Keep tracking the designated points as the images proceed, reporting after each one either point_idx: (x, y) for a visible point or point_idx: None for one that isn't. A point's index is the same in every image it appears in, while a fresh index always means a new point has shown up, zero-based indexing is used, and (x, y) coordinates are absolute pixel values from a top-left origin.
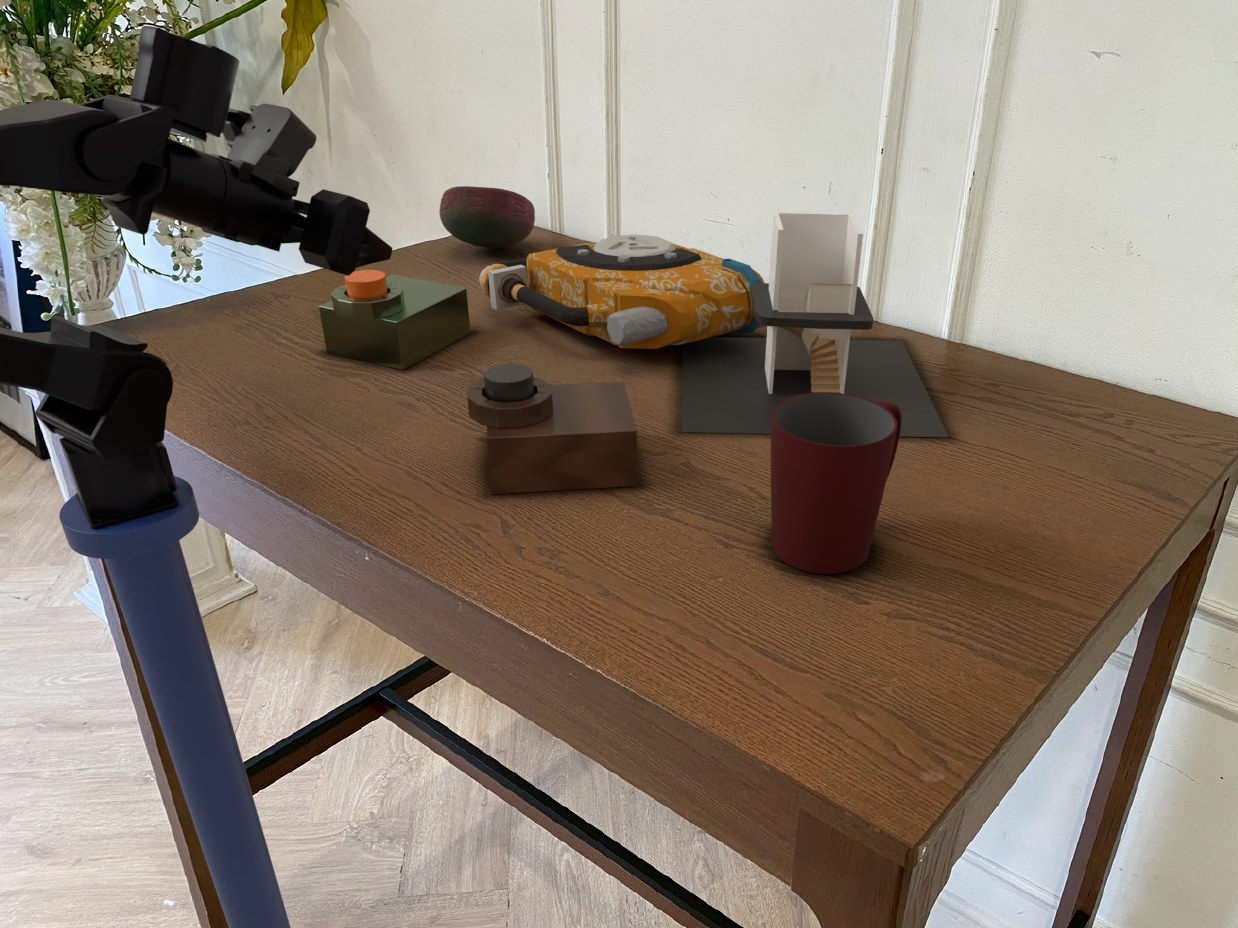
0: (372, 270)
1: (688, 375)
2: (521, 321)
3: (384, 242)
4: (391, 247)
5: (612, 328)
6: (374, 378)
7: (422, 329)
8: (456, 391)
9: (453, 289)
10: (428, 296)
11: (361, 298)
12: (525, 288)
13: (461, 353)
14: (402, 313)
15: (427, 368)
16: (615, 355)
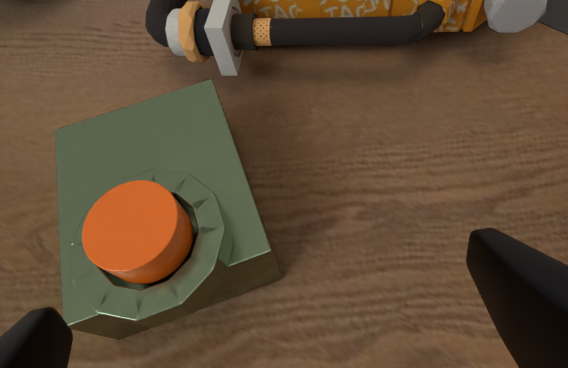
0: (113, 191)
1: (544, 17)
2: (246, 64)
3: (562, 265)
4: (496, 230)
5: (510, 14)
6: (278, 336)
7: (255, 202)
8: (418, 260)
9: (201, 95)
10: (196, 139)
11: (170, 269)
12: (278, 21)
13: (286, 175)
14: (236, 217)
15: (302, 244)
16: (429, 42)
